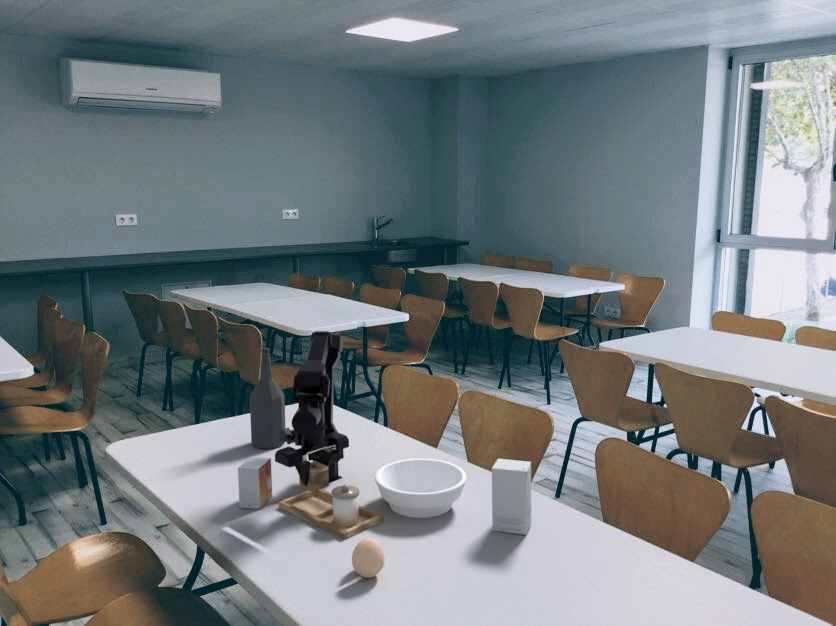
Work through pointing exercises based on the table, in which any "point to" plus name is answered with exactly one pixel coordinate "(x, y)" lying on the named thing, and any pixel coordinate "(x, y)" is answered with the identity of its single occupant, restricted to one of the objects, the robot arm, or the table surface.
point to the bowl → (420, 486)
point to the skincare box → (511, 496)
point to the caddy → (327, 513)
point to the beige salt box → (316, 477)
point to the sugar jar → (345, 506)
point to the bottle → (267, 408)
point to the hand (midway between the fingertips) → (313, 482)
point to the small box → (255, 482)
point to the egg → (368, 558)
